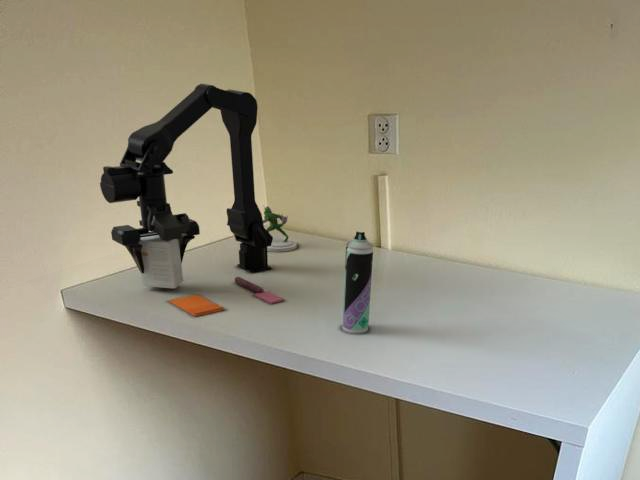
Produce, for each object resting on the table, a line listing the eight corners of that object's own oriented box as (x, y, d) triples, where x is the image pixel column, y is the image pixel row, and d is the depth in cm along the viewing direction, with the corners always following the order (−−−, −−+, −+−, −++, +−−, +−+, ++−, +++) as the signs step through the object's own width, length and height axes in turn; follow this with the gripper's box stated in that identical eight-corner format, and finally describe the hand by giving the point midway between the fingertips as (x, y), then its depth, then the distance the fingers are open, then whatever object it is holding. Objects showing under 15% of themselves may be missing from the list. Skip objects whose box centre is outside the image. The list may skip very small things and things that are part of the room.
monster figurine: (274, 237, 199) (273, 200, 193) (305, 246, 194) (305, 208, 188) (245, 245, 191) (244, 207, 185) (277, 254, 186) (277, 215, 180)
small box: (183, 281, 159) (179, 235, 153) (175, 289, 154) (170, 242, 148) (151, 278, 160) (144, 232, 154) (141, 286, 155) (134, 239, 149)
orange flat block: (197, 295, 155) (197, 293, 154) (223, 310, 148) (223, 307, 148) (169, 301, 151) (169, 299, 150) (195, 316, 144) (195, 313, 144)
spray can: (349, 335, 141) (354, 236, 129) (338, 325, 145) (341, 229, 133) (372, 331, 143) (379, 234, 132) (360, 322, 147) (366, 227, 135)
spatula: (230, 283, 163) (229, 277, 162) (242, 281, 165) (242, 274, 164) (271, 304, 153) (271, 297, 152) (283, 301, 155) (283, 294, 154)
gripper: (129, 210, 136) (139, 286, 145) (210, 200, 147) (215, 272, 156) (105, 199, 143) (116, 272, 151) (183, 190, 153) (190, 259, 162)
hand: (160, 269), depth 155 cm, fingers closed on small box, 9 cm apart
